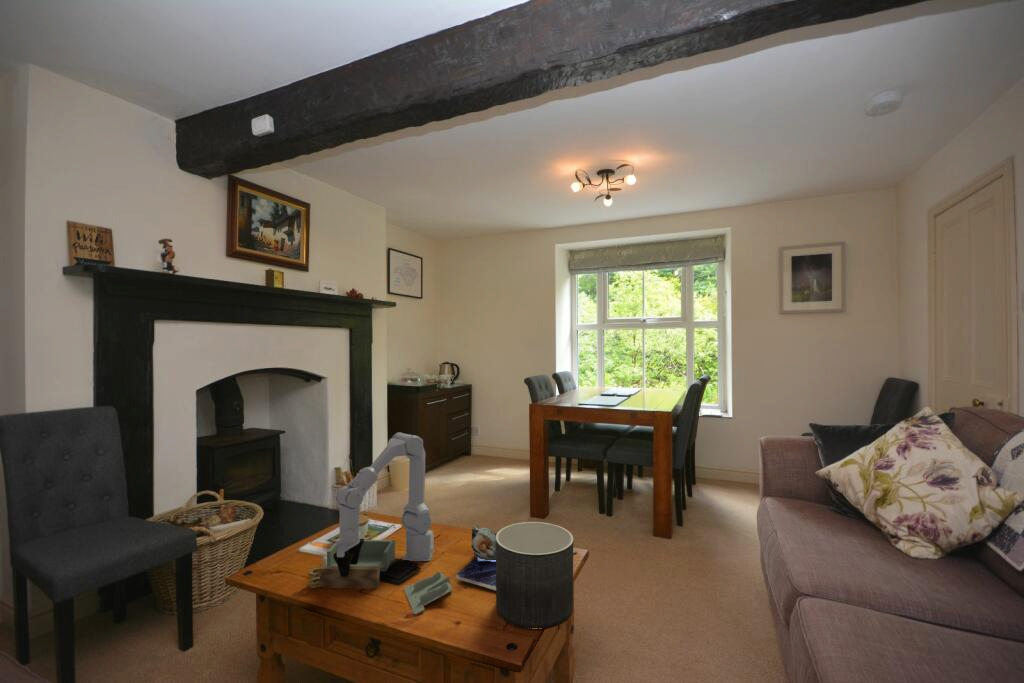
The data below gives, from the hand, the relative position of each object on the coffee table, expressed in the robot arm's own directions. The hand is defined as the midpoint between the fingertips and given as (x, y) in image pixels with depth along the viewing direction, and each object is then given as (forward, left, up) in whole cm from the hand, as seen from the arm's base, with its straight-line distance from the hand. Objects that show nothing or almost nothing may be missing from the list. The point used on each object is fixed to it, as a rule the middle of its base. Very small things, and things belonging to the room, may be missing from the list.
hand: (349, 570), depth 144 cm
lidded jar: (+11, -34, -5) cm, 36 cm away
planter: (-57, +10, -5) cm, 58 cm away
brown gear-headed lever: (+2, 0, -5) cm, 5 cm away
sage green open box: (+1, -12, -5) cm, 13 cm away
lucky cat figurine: (-43, -19, -5) cm, 47 cm away
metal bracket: (-26, +5, -6) cm, 27 cm away
